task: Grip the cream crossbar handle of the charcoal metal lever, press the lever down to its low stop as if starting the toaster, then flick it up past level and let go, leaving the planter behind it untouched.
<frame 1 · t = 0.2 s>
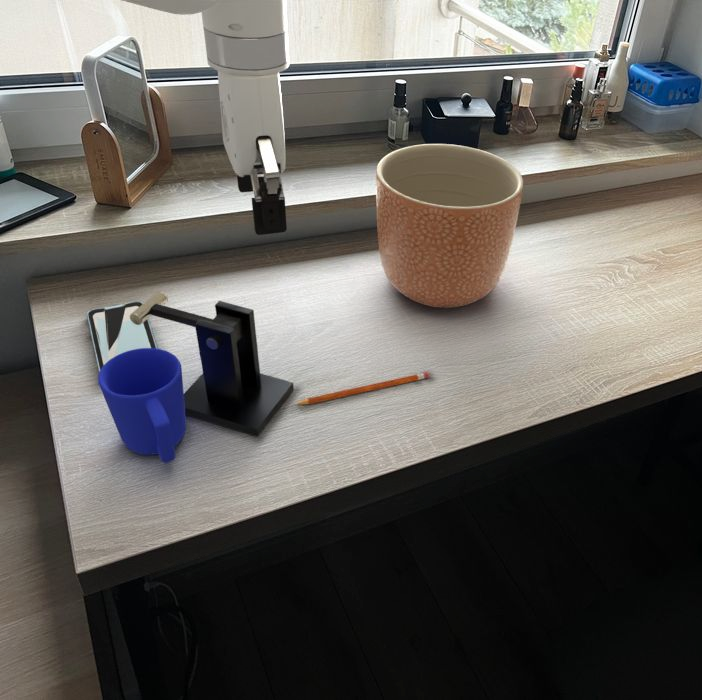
hand: (261, 210, 79), 24 cm above the table, tool pointing down, fingers open, 9 cm apart
pencil: (363, 392, 93), on the table
mug: (160, 449, 82), on the table
smartphone: (124, 343, 95), on the table
bracket: (235, 400, 89), on the table
lever: (189, 319, 83), point 11 cm above the table, hinge at 0.0°
planter: (440, 287, 113), on the table
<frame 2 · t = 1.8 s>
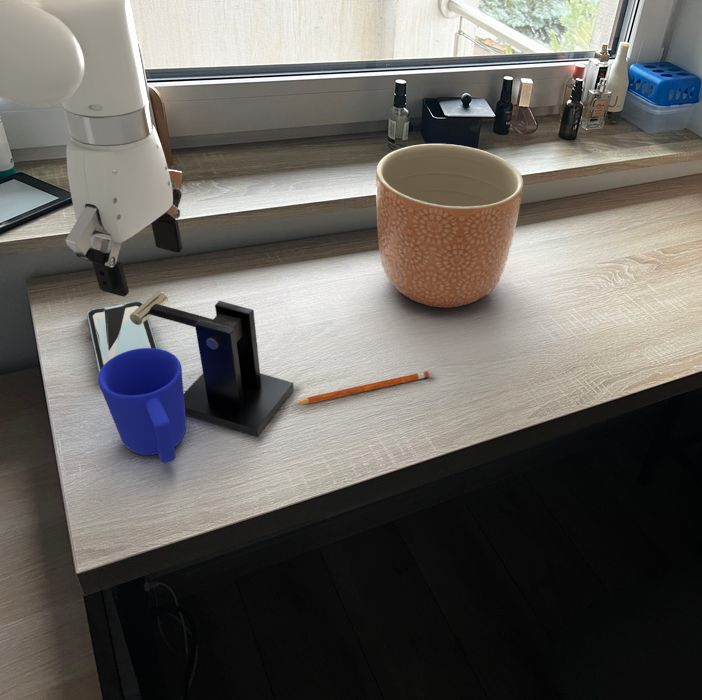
hand: (143, 269, 81), 16 cm above the table, tool pointing down, fingers open, 9 cm apart
nothing on the table moved.
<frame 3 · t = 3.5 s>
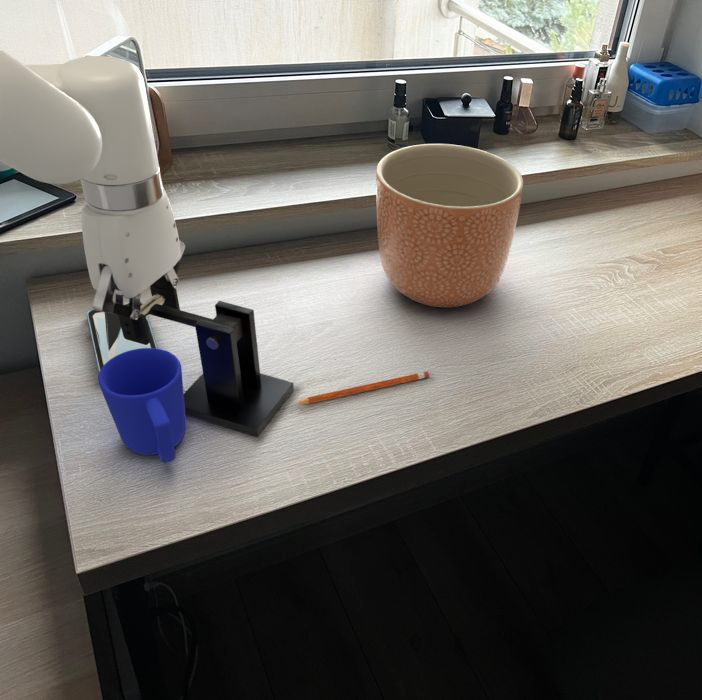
hand: (152, 325, 85), 8 cm above the table, tool pointing down, fingers closed on lever, 5 cm apart
lever: (189, 319, 83), point 11 cm above the table, hinge at 0.0°, touching gripper
everything else where it was.
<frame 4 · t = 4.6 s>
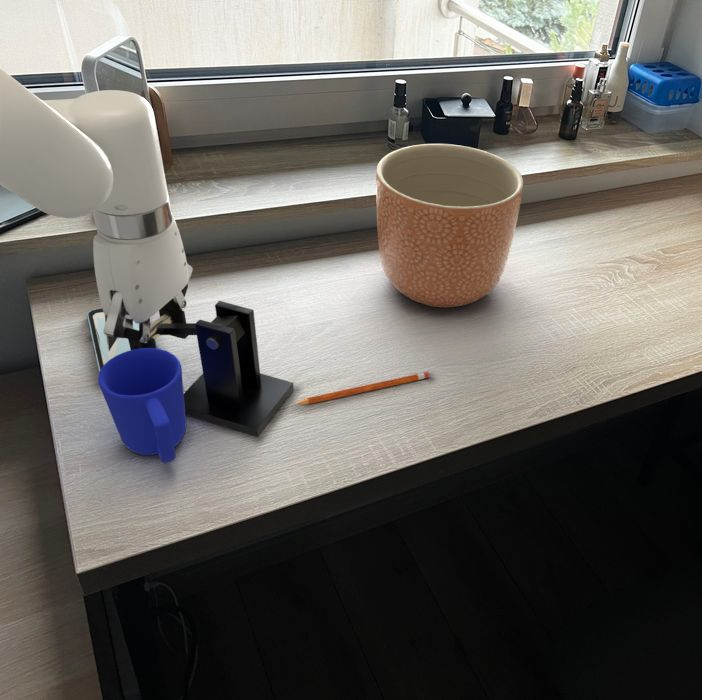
hand: (161, 347, 87), 5 cm above the table, tool pointing down, fingers closed on lever, 5 cm apart
lever: (193, 329, 84), point 10 cm above the table, hinge at -17.2°, touching gripper
everything else where it was.
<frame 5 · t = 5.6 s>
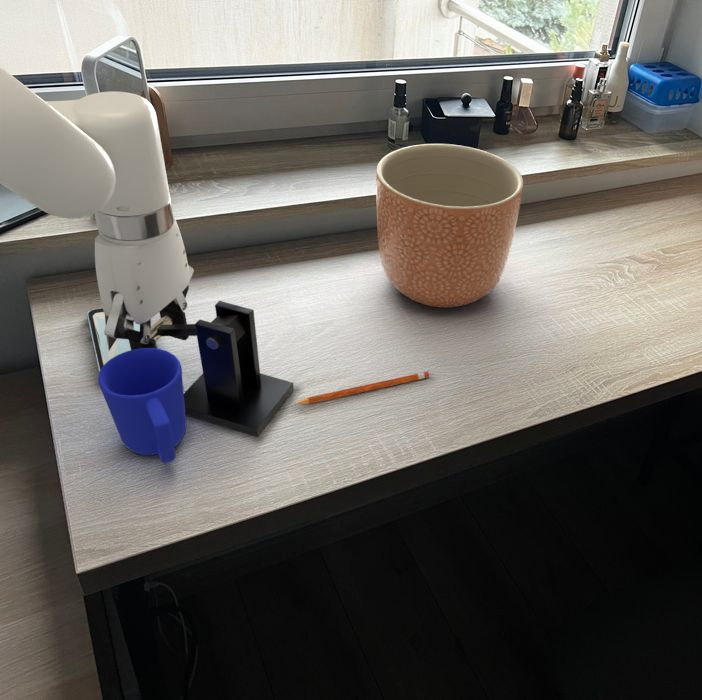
hand: (162, 348, 87), 5 cm above the table, tool pointing down, fingers closed on lever, 5 cm apart
lever: (193, 329, 84), point 10 cm above the table, hinge at -18.2°, touching gripper
everything else where it was.
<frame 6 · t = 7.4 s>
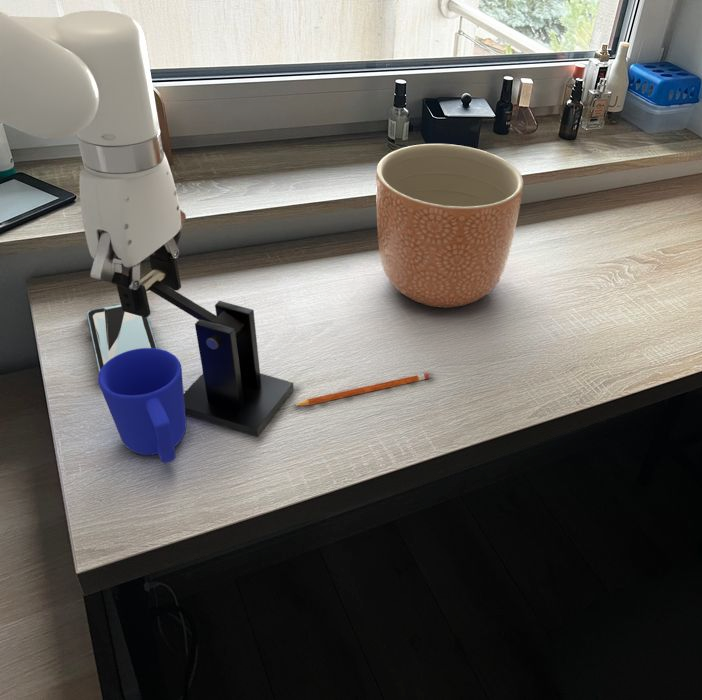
hand: (152, 298, 83), 13 cm above the table, tool pointing down, fingers closed on lever, 5 cm apart
lever: (190, 307, 82), point 13 cm above the table, hinge at 22.1°, touching gripper
everything else where it was.
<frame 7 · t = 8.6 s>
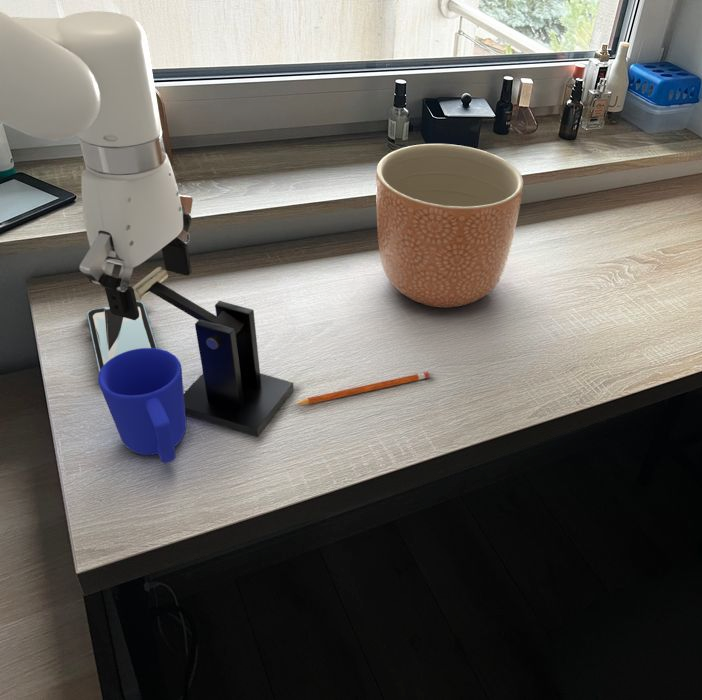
hand: (153, 293, 82), 13 cm above the table, tool pointing down, fingers open, 9 cm apart
lever: (190, 307, 82), point 13 cm above the table, hinge at 21.0°
everything else where it was.
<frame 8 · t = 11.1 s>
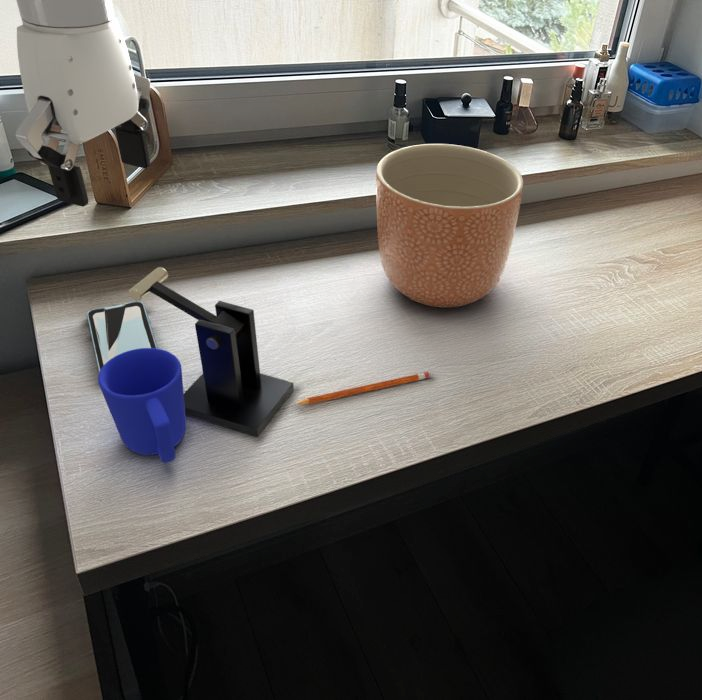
hand: (106, 182, 75), 26 cm above the table, tool pointing down, fingers open, 9 cm apart
nothing on the table moved.
at the end: lever reached -23° during the clip, +21° at the end; lever at +21° (first picture: +0°); planter moved 0.2 cm from its start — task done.
